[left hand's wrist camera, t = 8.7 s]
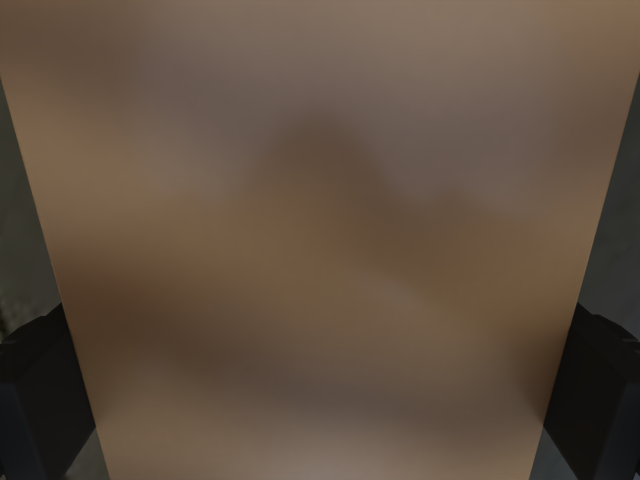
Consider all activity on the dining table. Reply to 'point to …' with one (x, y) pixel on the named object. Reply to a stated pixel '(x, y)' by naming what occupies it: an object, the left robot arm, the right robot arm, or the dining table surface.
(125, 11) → the cabinet
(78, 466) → the dining table surface
